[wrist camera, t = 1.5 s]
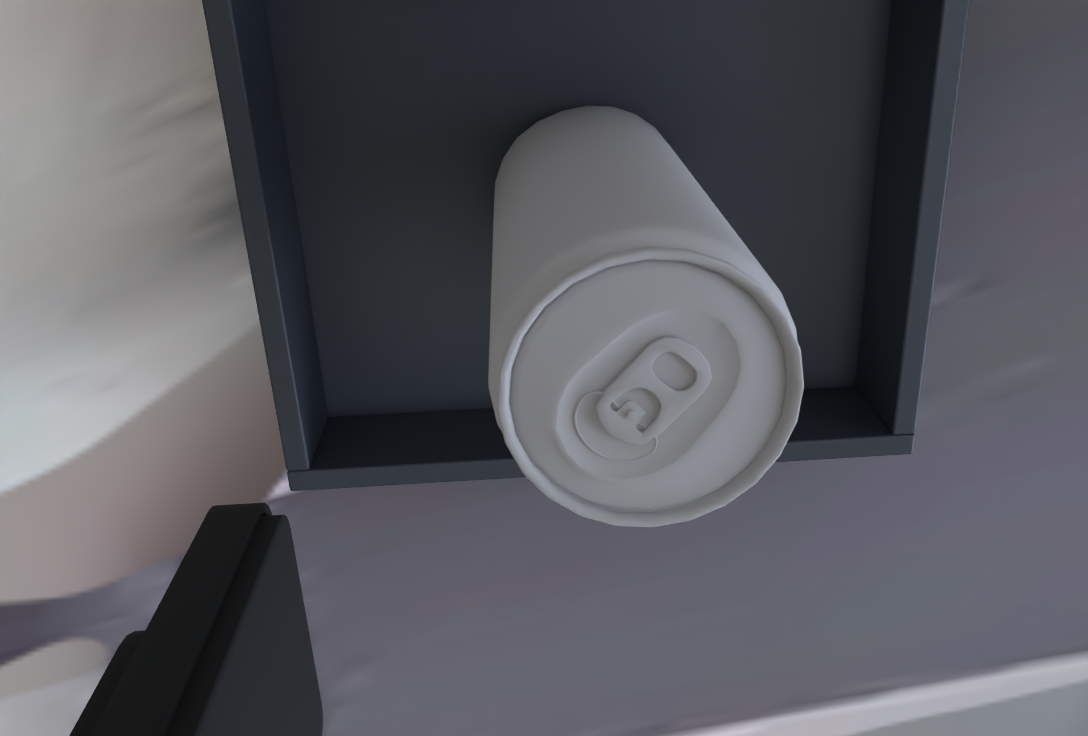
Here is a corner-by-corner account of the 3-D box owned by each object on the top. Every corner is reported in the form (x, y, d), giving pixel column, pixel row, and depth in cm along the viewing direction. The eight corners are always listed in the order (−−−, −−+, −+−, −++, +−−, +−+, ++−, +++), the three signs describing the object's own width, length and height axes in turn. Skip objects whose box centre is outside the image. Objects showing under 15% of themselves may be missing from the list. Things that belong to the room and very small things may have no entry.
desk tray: (231, -70, 23) (188, -68, 20) (920, -105, 23) (984, -109, 20) (312, 430, 28) (289, 492, 25) (868, 397, 29) (913, 454, 25)
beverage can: (455, 203, 25) (419, 415, 14) (580, 57, 24) (646, 167, 13) (592, 316, 27) (654, 587, 16) (717, 184, 25) (881, 380, 14)
